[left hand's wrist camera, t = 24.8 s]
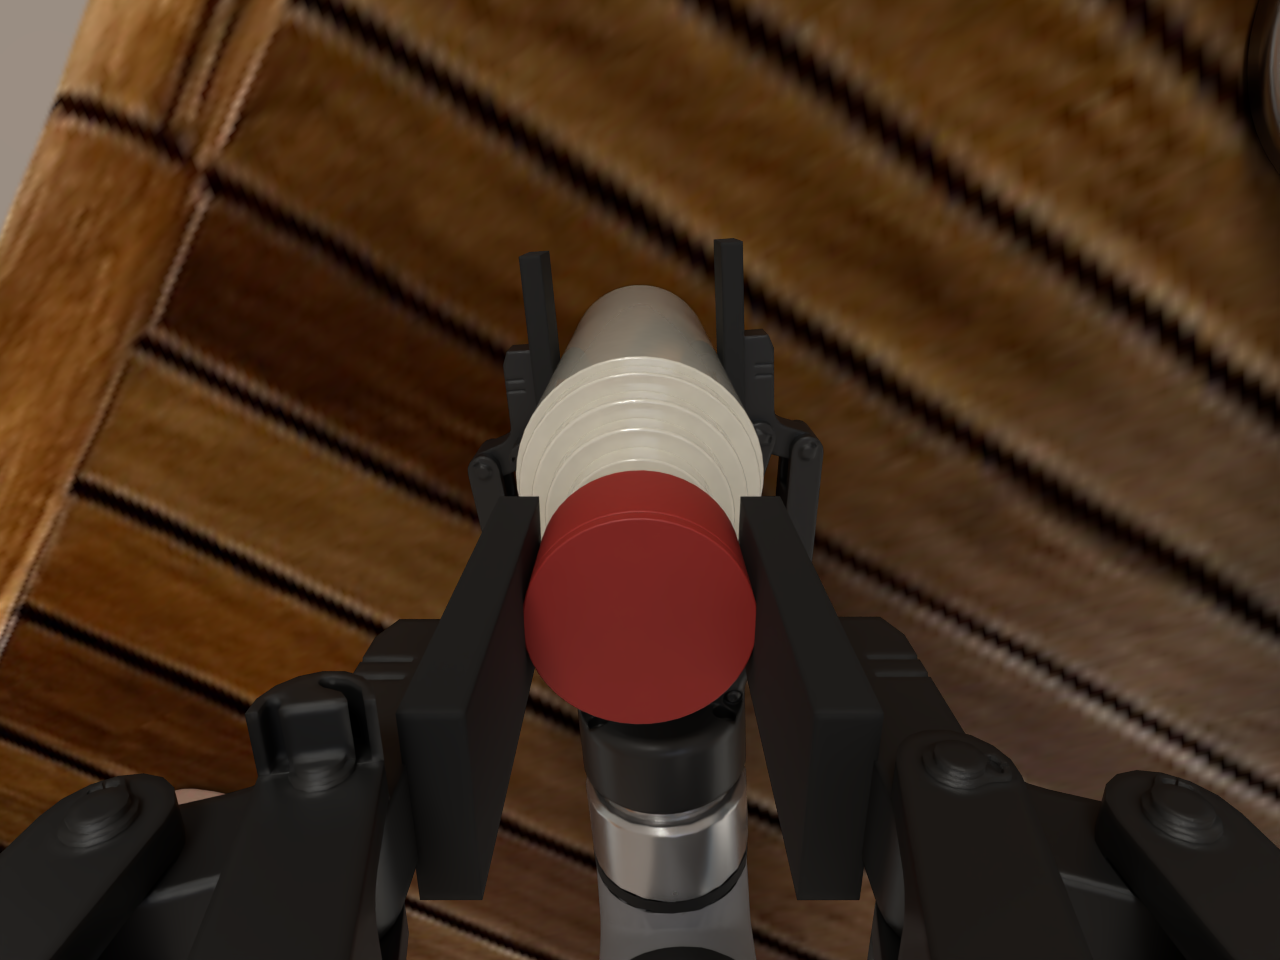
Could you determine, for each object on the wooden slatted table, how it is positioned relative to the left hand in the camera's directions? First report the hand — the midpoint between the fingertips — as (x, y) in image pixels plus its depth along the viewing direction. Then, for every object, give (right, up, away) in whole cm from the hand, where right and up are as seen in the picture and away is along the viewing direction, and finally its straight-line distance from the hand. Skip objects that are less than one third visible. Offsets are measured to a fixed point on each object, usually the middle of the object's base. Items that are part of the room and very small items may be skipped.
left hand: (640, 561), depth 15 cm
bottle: (0, +7, +20) cm, 22 cm away
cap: (0, -1, -2) cm, 2 cm away
